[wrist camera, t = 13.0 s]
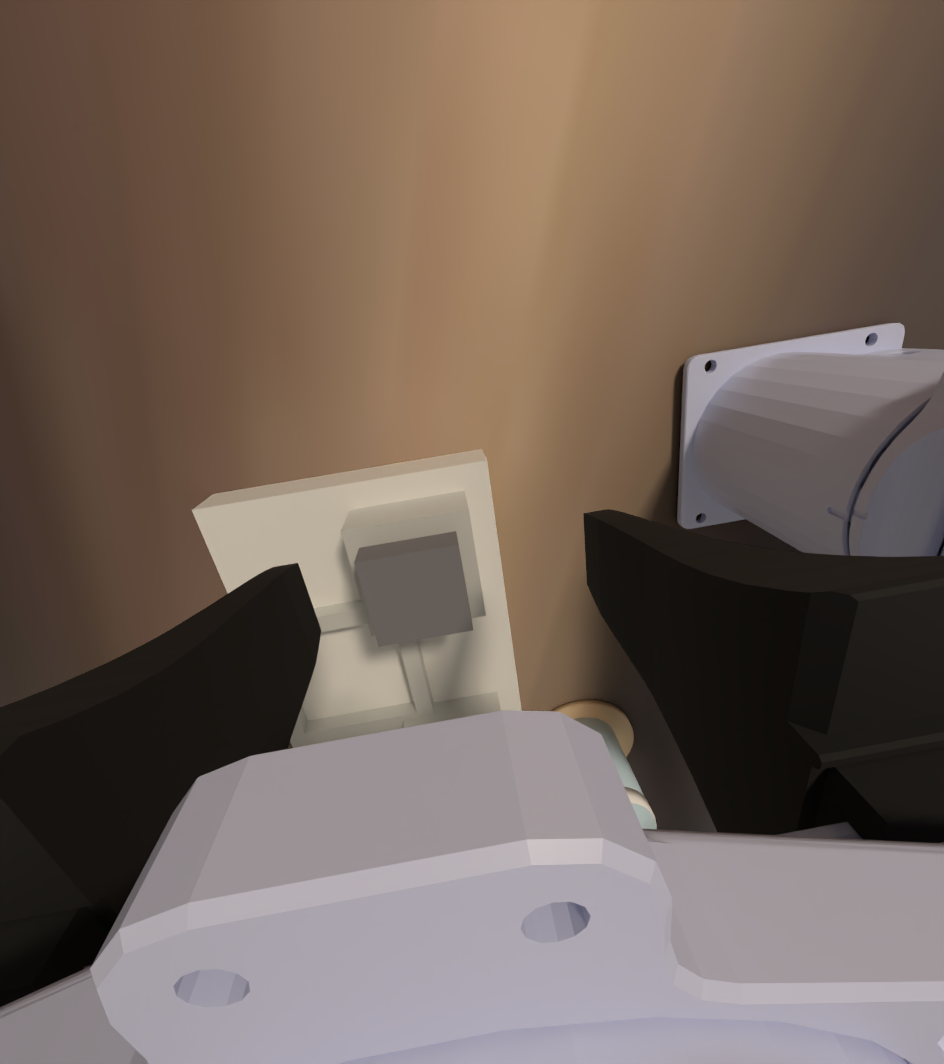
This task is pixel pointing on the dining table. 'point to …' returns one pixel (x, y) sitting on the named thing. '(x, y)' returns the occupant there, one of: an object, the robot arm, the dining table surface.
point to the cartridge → (623, 771)
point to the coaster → (602, 718)
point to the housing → (334, 588)
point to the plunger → (414, 588)
